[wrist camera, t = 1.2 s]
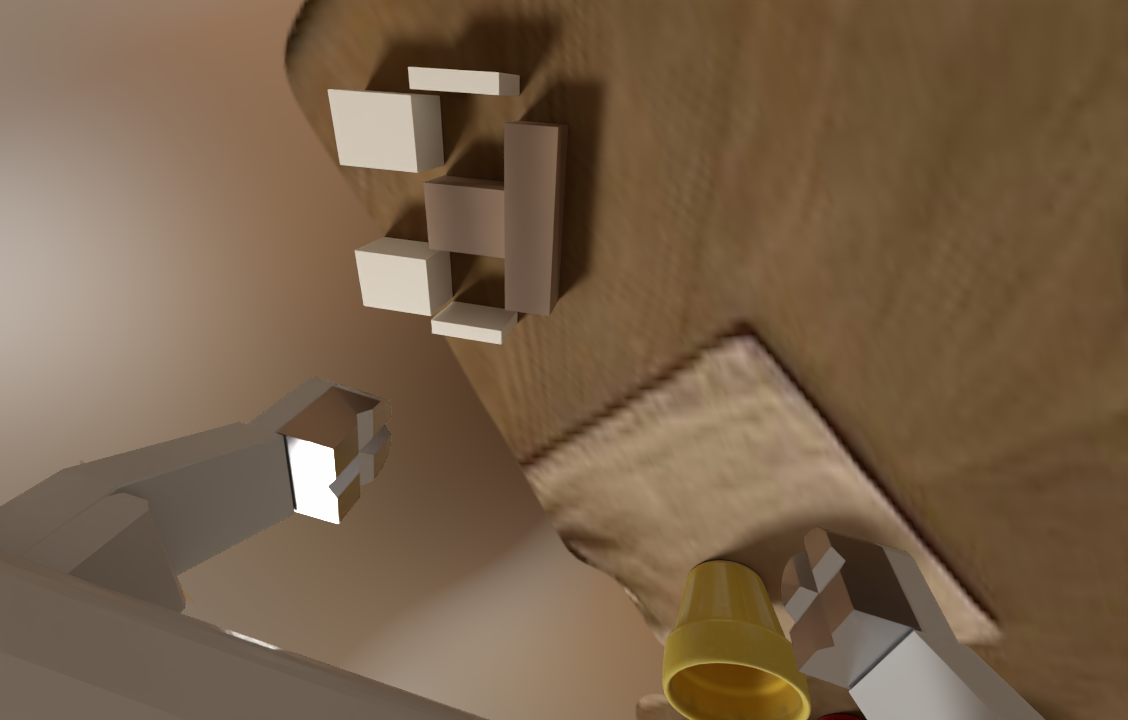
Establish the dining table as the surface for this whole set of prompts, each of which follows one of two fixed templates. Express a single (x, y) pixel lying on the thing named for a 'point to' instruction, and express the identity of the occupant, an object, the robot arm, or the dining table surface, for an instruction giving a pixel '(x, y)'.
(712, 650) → the plant pot
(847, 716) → the plastic cup
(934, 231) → the dining table surface
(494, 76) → the cream T dock
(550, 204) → the walnut T block
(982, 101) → the dining table surface
